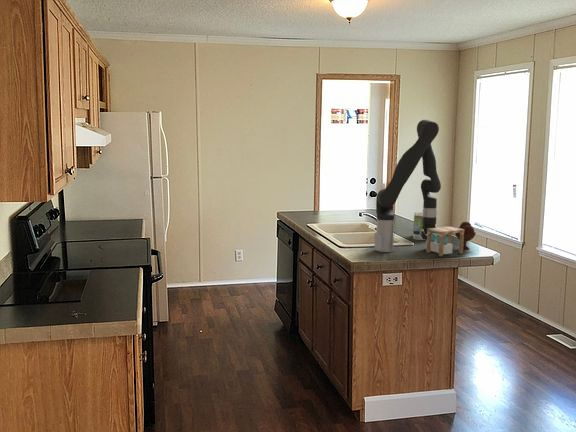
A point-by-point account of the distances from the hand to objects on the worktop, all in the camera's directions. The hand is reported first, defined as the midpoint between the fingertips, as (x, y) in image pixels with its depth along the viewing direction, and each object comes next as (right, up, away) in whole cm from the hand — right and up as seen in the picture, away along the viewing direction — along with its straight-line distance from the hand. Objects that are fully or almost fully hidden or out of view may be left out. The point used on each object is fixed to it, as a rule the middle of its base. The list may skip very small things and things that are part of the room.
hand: (428, 246), depth 336 cm
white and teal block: (+4, -2, -7) cm, 8 cm away
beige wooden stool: (+6, -3, -11) cm, 13 cm away
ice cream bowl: (+20, -1, +1) cm, 20 cm away
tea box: (+3, +3, +32) cm, 33 cm away
